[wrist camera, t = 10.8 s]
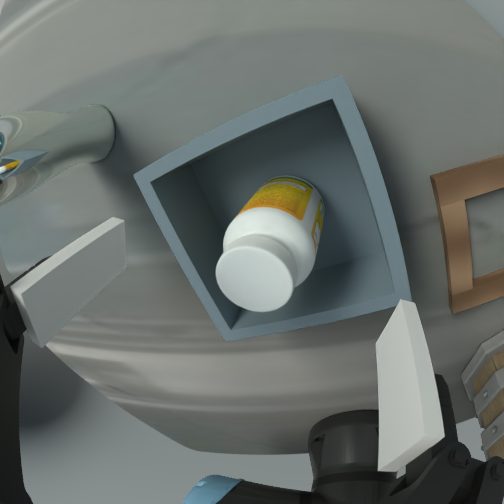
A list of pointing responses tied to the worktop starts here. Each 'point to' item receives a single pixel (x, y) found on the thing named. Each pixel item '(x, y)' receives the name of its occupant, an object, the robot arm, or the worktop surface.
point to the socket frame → (466, 230)
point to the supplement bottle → (271, 244)
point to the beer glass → (49, 146)
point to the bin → (260, 171)
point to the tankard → (488, 393)
